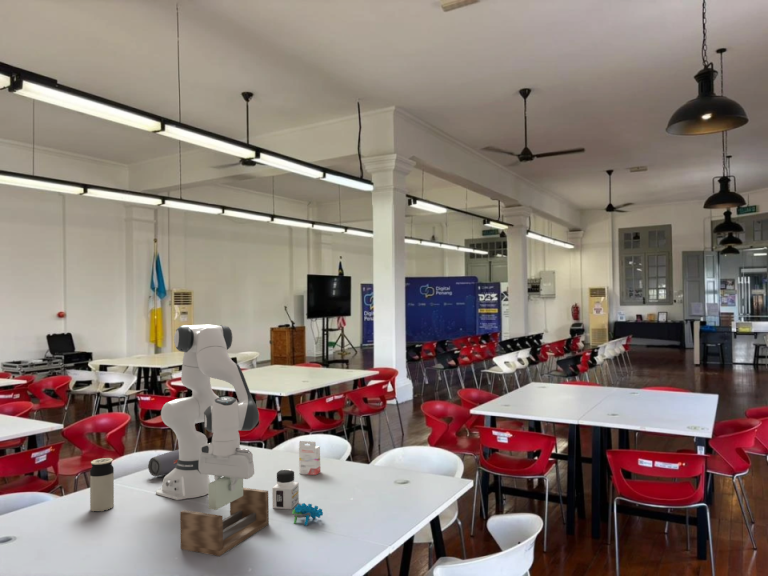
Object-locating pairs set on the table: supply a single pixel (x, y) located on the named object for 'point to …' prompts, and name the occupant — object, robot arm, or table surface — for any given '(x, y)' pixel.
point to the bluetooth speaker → (163, 463)
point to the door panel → (223, 492)
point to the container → (285, 490)
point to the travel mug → (101, 485)
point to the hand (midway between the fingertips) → (226, 489)
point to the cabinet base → (225, 524)
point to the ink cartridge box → (309, 458)
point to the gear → (306, 512)
